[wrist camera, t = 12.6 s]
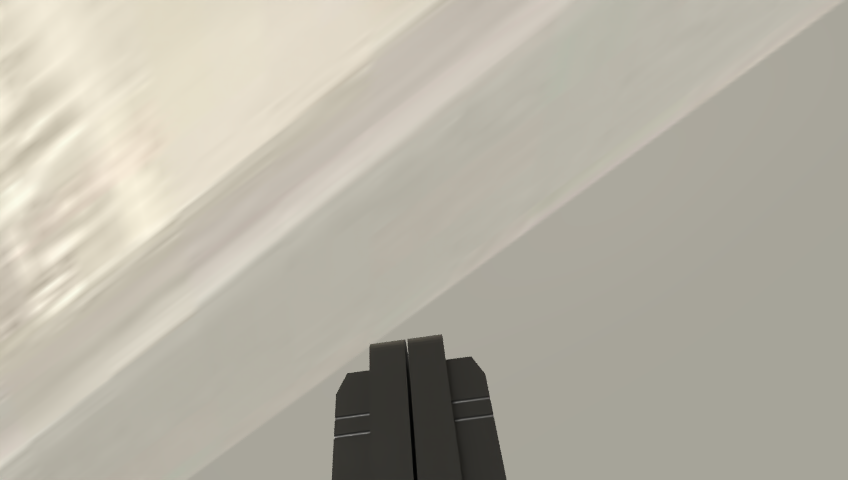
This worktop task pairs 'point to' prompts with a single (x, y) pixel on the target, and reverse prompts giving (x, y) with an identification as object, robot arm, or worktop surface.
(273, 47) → the worktop surface
